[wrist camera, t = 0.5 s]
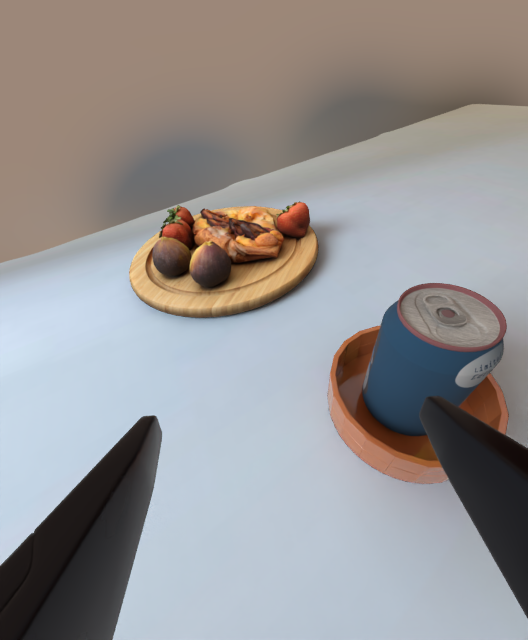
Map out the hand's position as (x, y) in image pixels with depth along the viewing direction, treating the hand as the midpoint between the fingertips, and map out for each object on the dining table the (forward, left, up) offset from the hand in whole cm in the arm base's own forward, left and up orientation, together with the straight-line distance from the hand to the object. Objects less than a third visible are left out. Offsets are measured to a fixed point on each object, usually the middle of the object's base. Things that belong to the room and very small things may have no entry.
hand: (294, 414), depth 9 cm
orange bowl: (+5, -12, -16) cm, 20 cm away
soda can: (+5, -12, -16) cm, 20 cm away
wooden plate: (+38, -1, -16) cm, 41 cm away
